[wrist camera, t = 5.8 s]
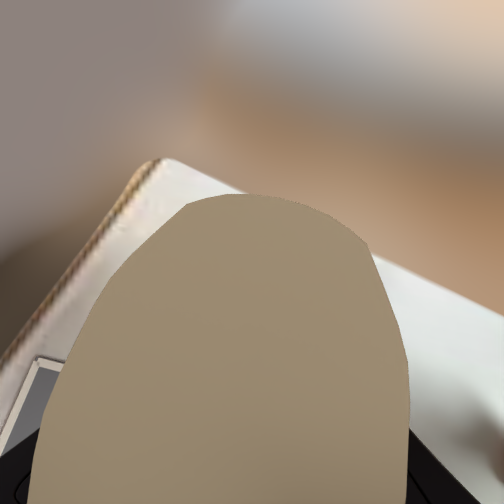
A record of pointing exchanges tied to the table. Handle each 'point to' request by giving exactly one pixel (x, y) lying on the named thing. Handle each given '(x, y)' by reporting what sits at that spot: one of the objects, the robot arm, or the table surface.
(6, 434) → the stamp mat
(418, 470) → the robot arm
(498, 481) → the table surface
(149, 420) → the handle
